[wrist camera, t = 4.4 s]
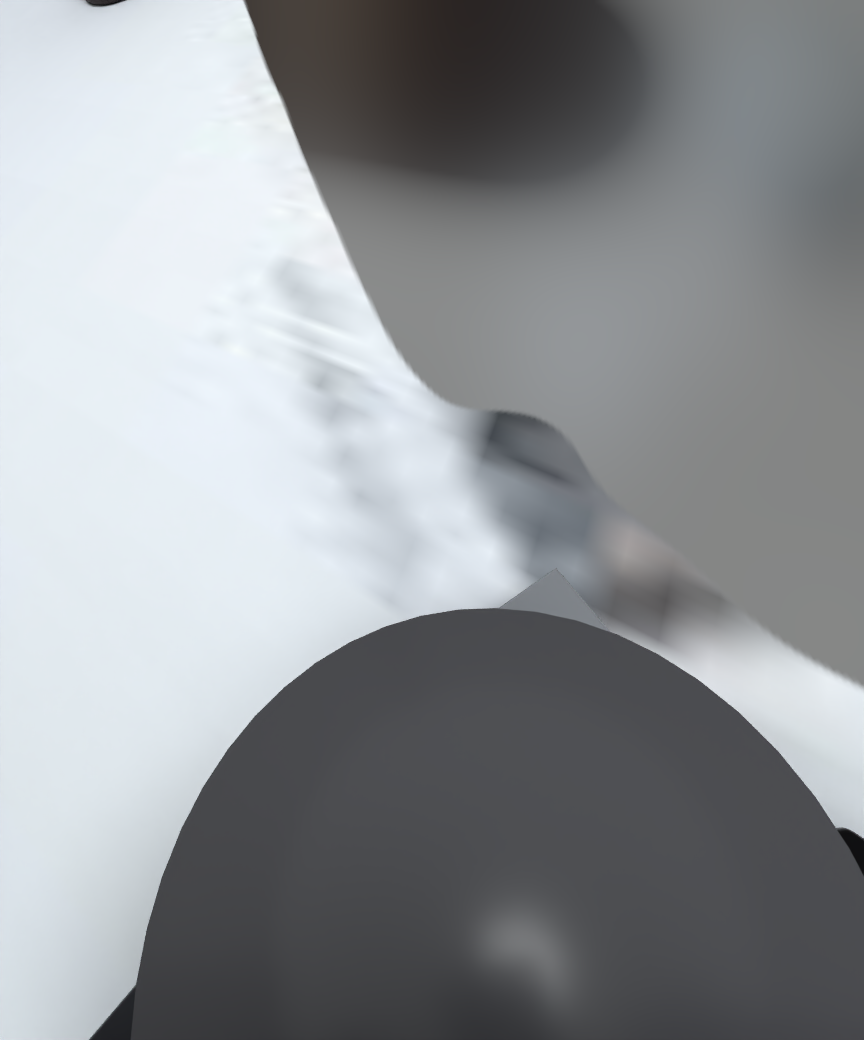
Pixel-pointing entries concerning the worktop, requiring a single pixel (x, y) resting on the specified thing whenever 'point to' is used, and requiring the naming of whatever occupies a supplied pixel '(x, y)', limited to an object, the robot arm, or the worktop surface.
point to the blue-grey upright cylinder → (503, 856)
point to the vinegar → (101, 1)
